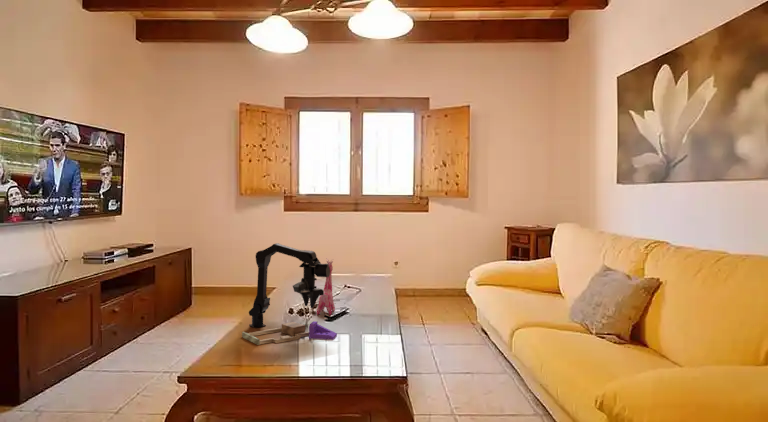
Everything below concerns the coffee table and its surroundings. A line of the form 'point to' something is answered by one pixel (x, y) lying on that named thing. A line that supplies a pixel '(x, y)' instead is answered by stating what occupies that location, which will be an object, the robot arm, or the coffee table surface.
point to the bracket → (320, 332)
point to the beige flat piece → (282, 339)
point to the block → (292, 328)
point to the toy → (327, 294)
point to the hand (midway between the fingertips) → (309, 306)
